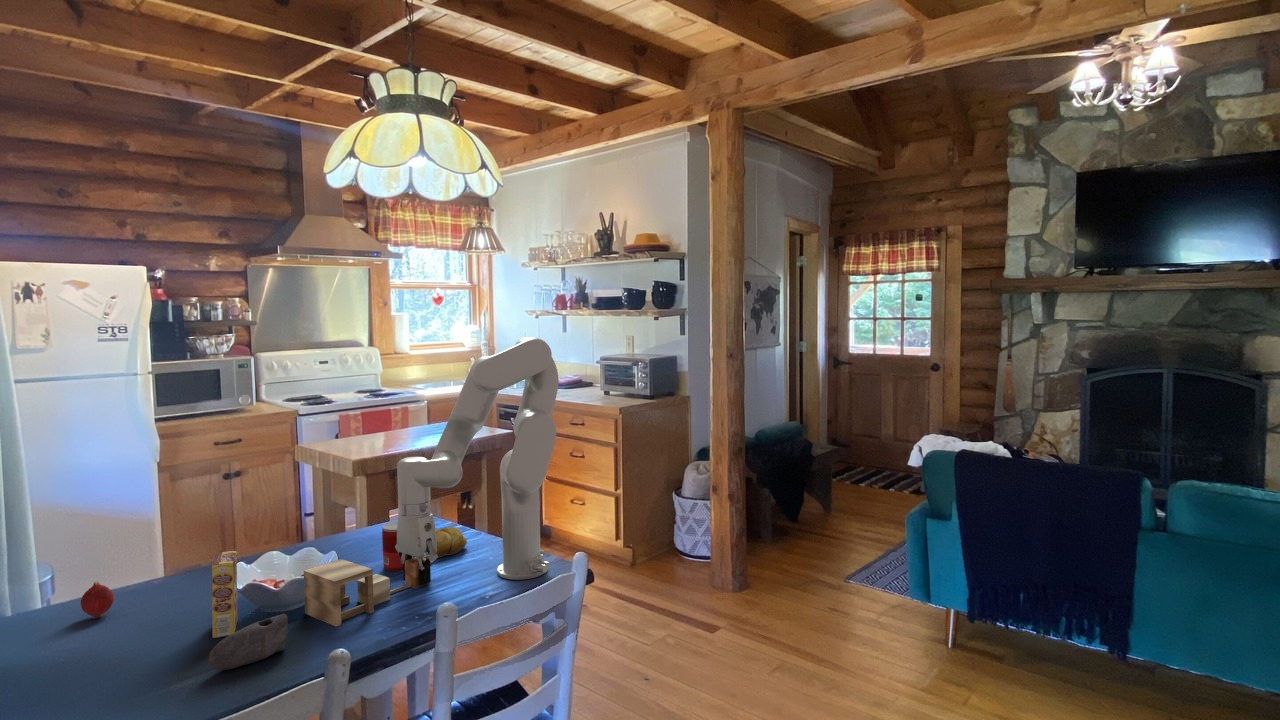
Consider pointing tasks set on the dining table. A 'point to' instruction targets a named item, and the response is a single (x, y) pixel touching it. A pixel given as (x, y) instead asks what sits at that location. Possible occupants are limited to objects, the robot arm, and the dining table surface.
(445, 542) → the bread roll
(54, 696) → the dining table surface
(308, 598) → the oak shelf cubby
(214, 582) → the candy box
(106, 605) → the red pomegranate
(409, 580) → the birch block with cord
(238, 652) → the perforated stone tool
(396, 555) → the canned food
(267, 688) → the dining table surface
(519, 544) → the robot arm
